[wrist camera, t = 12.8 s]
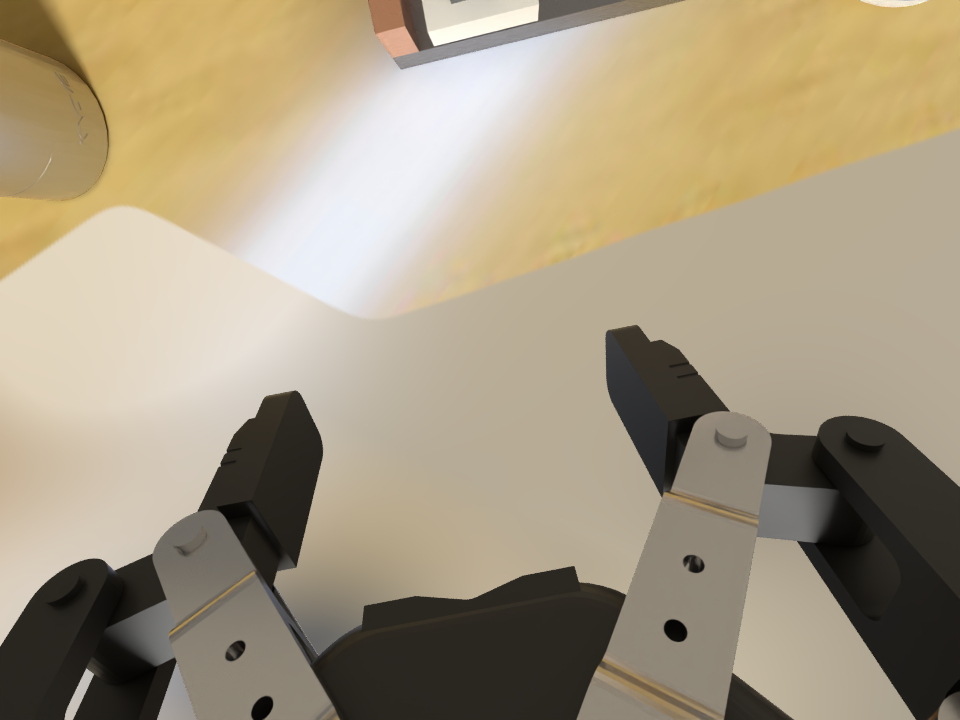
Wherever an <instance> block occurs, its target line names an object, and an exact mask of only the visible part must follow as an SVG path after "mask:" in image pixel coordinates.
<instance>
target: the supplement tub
mask: <svg viewBox="0 0 960 720" xmlns="http://www.w3.org/2000/svg"><path fill="white" fill-rule="evenodd" d="M860 1H862V2H865V3H868V4H872V5H877V6H884V7H904V6H912V5H916V4H920V3H923V2H926V1H928V0H860Z"/></svg>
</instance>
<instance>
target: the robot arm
mask: <svg viewBox="0 0 960 720" xmlns="http://www.w3.org/2000/svg"><path fill="white" fill-rule="evenodd" d="M107 149H108V140H107V129H106V125H105V121H104V117H103V114H102V111H101V109H100V107H99V104H98V102H97V100H96V98H95V97H94V95H93V94H92V92H91V90H90V89H89V87H88V86H87V85H86V84H85V83H84V81H83V80H82V79H81V78H80V77H79V76H78V75H77V74H76V73H75V72H73V71H72V70H71V69H69V68H68V67H67V66H65V65H64V64H62V63H60V62H58V61H56V60H54V59H52V58H50V57H47V56H45V55H42V54H39V53H37V52H34V51H32V50H29V49H26V48H24V47H21V46H18V45H16V44H13V43H10V42H8V41H5V40H2V39H0V197H13V198H27V199H41V200H59V201H63V200H68V199H72V198H75V197H77V196H79V195H81V194H83V193H85V192H86V191H87V190H88V189H90V188H91V187H92V186H93V185H94V184H95V182H96V181H97V179H98V178H99V176H100V175H101V173H102V170H103V167H104V165H105V162H106V157H107ZM606 379H607V387H608V392H609V395H610V398H611V401H612V403H613V405H614V407H615V409H616V410H617V413H618V415H619V416H620V418H621V420H622V422H623V424H624V426H625V428H626V430H627V432H628V434H629V435H630V437H631V439H632V441H633V443H634V445H635V447H636V449H637V451H638V453H639V455H640V457H641V458H642V460H643V462H644V464H645V466H646V468H647V470H648V472H649V474H650V476H651V478H652V480H653V481H654V483H655V485H656V487H657V489H658V491H659V493H660V495H661V497H662V499H661V502H660V505H659V507H658V510H657V513H656V516H655V519H654V521H653V524H652V527H651V530H650V532H649V535H648V538H647V540H646V543H645V546H644V549H643V552H642V554H641V557H640V560H639V563H638V565H637V568H636V571H635V574H634V576H633V579H632V582H631V585H630V587H629V590H628V593H627V595H625V594H623V593H621V592H619V591H616V590H614V589H611V588H607V587H604V586H600V585H595V584H590V583H580V582H579V581H578V577H577V574H576V570H575V567H574V566H572V567H566V568H562V569H556V570H551V571H546V572H540V573H535V574H530V575H524V576H521V577H519V578H517V579H515V580H513V581H510V582H508V583H506V584H504V585H502V586H499V587H497V588H495V589H493V590H491V591H489V592H487V593H484V594H482V595H480V596H478V597H476V598H473V599H469V600H462V599H448V598H434V597H420V596H414V597H409V598H404V599H399V600H393V601H388V602H382V603H377V604H372V605H367V606H364V613H363V622H362V625H360V626H358V627H356V628H354V629H353V630H351V631H349V632H348V633H346V634H344V635H343V636H342V637H340V638H339V639H338V640H336V641H335V642H334V643H333V644H332V645H330V646H329V647H328V648H327V649H326V650H325V651H324V652H322V653H321V655H320V656H319V655H318V654H317V652H316V651H315V649H314V648H313V646H312V645H311V643H310V642H309V640H308V638H307V637H306V635H305V633H304V632H303V630H302V629H301V627H300V625H299V624H298V622H297V621H296V619H295V617H294V616H293V614H292V612H291V611H290V609H289V607H288V606H287V604H286V603H285V601H284V599H283V598H282V596H281V595H280V593H279V591H278V590H277V588H276V587H275V586H274V580H275V576H276V573H277V571H281V570H285V569H291V568H296V567H297V562H298V558H299V554H300V549H301V546H302V541H303V537H304V533H305V529H306V524H307V520H308V516H309V512H310V508H311V504H312V499H313V495H314V490H315V487H316V482H317V478H318V474H319V470H320V466H321V461H322V457H323V445H322V440H321V436H320V434H319V431H318V429H317V427H316V425H315V423H314V421H313V419H312V417H311V415H310V413H309V411H308V409H307V406H306V404H305V402H304V400H303V398H302V396H301V395H300V393H299V392H298V391H290V392H285V393H280V394H275V395H269V396H266V397H265V398H264V399H263V401H262V404H261V406H260V408H259V410H258V413H257V415H256V417H255V418H252V419H249V420H248V421H247V422H246V423H245V424H244V425H243V426H242V427H241V428H240V429H239V430H238V431H237V432H236V433H235V434H234V436H233V438H232V440H231V442H230V444H229V446H228V449H227V453H226V454H225V455H224V457H223V459H222V461H221V467H219V468H218V469H217V472H216V474H215V476H214V478H213V480H212V482H211V484H210V486H209V488H208V491H207V493H206V495H205V497H204V499H203V501H202V503H201V505H200V507H199V509H198V512H196V513H193V514H191V515H189V516H187V517H185V518H184V519H182V520H180V521H179V522H177V523H176V524H174V525H173V526H172V527H171V528H170V529H169V530H168V531H167V532H165V534H164V535H163V536H162V537H161V538H160V540H159V541H158V543H157V545H156V547H155V549H154V552H153V554H151V555H148V556H146V557H144V558H142V559H139V560H137V561H135V562H133V563H130V564H128V565H126V566H124V567H121V568H119V569H117V570H115V571H114V570H113V569H112V568H111V567H110V566H109V565H108V564H107V563H106V562H105V561H103V560H101V559H87V560H83V561H80V562H78V563H75V564H73V565H71V566H69V567H67V568H65V569H64V570H62V571H60V572H59V573H57V574H56V575H55V576H54V577H52V578H51V579H49V580H48V581H47V582H46V583H45V584H44V585H43V586H42V587H41V588H40V589H39V590H38V591H37V592H36V593H35V595H34V596H33V597H32V599H31V600H30V601H29V603H28V604H27V606H26V608H25V609H24V611H23V612H22V614H21V615H20V617H19V619H18V620H17V622H16V623H15V625H14V626H13V628H12V629H11V631H10V632H9V634H8V635H7V637H6V639H5V640H4V642H3V643H2V645H1V646H0V720H64V718H65V713H66V710H67V707H68V705H69V703H70V701H71V699H72V696H73V694H74V692H75V690H76V688H77V686H78V684H79V682H80V680H81V678H82V676H83V674H84V672H85V670H86V668H87V669H88V670H89V671H91V672H92V673H94V676H93V678H92V680H91V682H90V685H89V687H88V689H87V691H86V693H85V695H84V698H83V700H82V702H81V704H80V706H79V708H78V710H77V712H76V715H75V717H74V719H73V720H157V717H158V715H159V712H160V709H161V706H162V703H163V700H164V697H165V694H166V691H167V688H168V685H169V682H170V679H171V677H172V674H173V671H174V668H175V665H176V662H177V664H178V667H179V669H180V672H181V675H182V678H183V681H184V684H185V687H186V690H187V693H188V695H189V698H190V701H191V704H192V707H193V710H194V713H195V716H196V719H197V720H794V719H792V718H791V717H790V716H788V715H787V714H786V713H784V712H783V711H782V710H780V709H779V708H778V707H777V706H775V705H774V704H773V703H771V702H770V701H769V700H767V699H766V698H765V697H763V696H762V695H761V694H760V693H758V692H757V691H756V690H754V689H753V688H752V687H750V686H749V685H748V684H746V683H745V682H744V681H743V680H741V679H740V678H739V677H737V676H736V675H735V674H733V673H732V670H733V665H734V659H735V654H736V648H737V642H738V636H739V631H740V626H741V620H742V614H743V609H744V603H745V598H746V592H747V586H748V580H749V575H750V570H751V564H752V558H753V553H754V547H755V541H756V537H765V538H774V539H784V540H793V541H797V542H798V543H799V545H800V546H801V548H802V549H803V551H804V552H805V554H806V555H807V556H808V558H809V560H810V561H811V563H812V564H813V566H814V567H815V569H816V570H817V572H818V573H819V575H820V576H821V578H822V579H823V581H824V582H825V584H826V585H827V587H828V588H829V590H830V591H831V593H832V594H833V596H834V597H835V599H836V600H837V602H838V603H839V605H840V606H841V608H842V609H843V611H844V612H845V614H846V615H847V617H848V618H849V620H850V621H851V623H852V624H853V626H854V627H855V629H856V630H857V632H858V633H859V635H860V636H861V638H862V639H863V641H864V642H865V644H866V645H867V647H868V648H869V650H870V651H871V653H872V654H873V656H874V657H875V659H876V660H877V662H878V663H879V665H880V666H881V668H882V669H883V671H884V672H885V674H886V675H887V677H888V678H889V680H890V681H891V683H892V684H893V686H894V687H895V689H896V690H897V692H898V693H899V695H900V696H901V697H902V699H903V701H904V702H905V704H906V705H907V706H908V708H909V710H910V711H911V713H912V714H913V716H914V717H915V719H916V720H960V487H959V486H958V485H957V484H956V483H955V482H953V481H952V480H951V479H950V478H949V477H948V476H947V475H946V474H945V473H944V472H942V471H941V470H940V469H939V468H938V467H937V466H936V465H935V464H934V463H932V462H931V461H930V460H929V459H928V458H927V457H926V456H925V455H924V454H923V453H921V452H920V451H919V450H918V449H917V448H916V447H915V446H914V445H913V444H912V443H910V442H909V441H908V440H907V439H906V438H905V437H904V436H903V435H901V434H900V433H899V432H897V431H896V430H895V429H893V428H891V427H889V426H887V425H885V424H883V423H880V422H878V421H875V420H872V419H868V418H864V417H857V416H839V417H834V418H831V419H829V420H827V421H826V422H824V423H823V424H822V425H821V426H820V428H819V431H818V434H817V436H804V435H783V434H773V433H769V432H768V431H767V429H766V428H765V427H764V426H763V425H762V424H761V423H759V422H758V421H756V420H755V419H752V418H751V417H749V416H746V415H743V414H739V413H735V412H730V411H729V410H728V408H727V407H726V406H725V405H724V404H723V402H722V401H721V400H720V399H719V397H718V396H717V395H716V394H715V393H714V391H713V390H712V389H711V388H710V387H709V385H708V384H707V383H706V382H705V381H704V379H703V378H702V377H701V376H700V375H698V372H697V371H696V370H695V369H694V367H693V366H692V365H690V364H689V361H688V360H687V359H686V358H685V357H684V355H683V354H682V353H681V352H680V350H679V349H677V348H675V347H674V346H672V345H670V344H668V343H666V342H664V341H663V340H658V341H653V342H650V341H649V339H648V338H647V337H646V335H645V334H644V333H643V331H642V330H641V329H640V327H639V326H637V325H633V326H628V327H623V328H618V329H612V330H608V331H607V332H606Z"/></svg>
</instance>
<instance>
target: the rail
mask: <svg viewBox="0 0 960 720" xmlns="http://www.w3.org/2000/svg"><path fill="white" fill-rule="evenodd" d="M680 1H684V0H539V11H538V21H534V22H530V23H526V24H522V25H518V26H514V27H510V28H506V29H502V30H498V31H494V32H490V33H486V34H482V35H478V36H474V37H470V38H466V39H462V40H458V41H454V42H450V43H446V44H441V45H437V46H434V45H433V43H432V40H431V38H430V36H429V34H428V31H427V26H426V21H425V15H424V10H423V4H422V0H368V2H369V7H370V11H371V16H372V21H373V26H374V31H375V34H376V36H377V37H378V38H379V40H380V41H381V43H382V44H383V45H384V47H385V48H386V49H387V51H388V52H389V54H390V55H391V56H392V58H393V59H394V60H395V62H396V63H397V64H398V66H399V67H400V69H404V68H409V67H413V66H417V65H421V64H425V63H429V62H433V61H437V60H441V59H446V58H450V57H454V56H458V55H462V54H466V53H470V52H474V51H478V50H483V49H487V48H491V47H495V46H499V45H503V44H507V43H511V42H515V41H520V40H524V39H528V38H532V37H536V36H540V35H544V34H548V33H552V32H557V31H561V30H565V29H569V28H573V27H577V26H581V25H585V24H589V23H594V22H598V21H602V20H606V19H610V18H614V17H618V16H622V15H626V14H631V13H635V12H639V11H643V10H647V9H651V8H655V7H659V6H663V5H668V4H672V3H676V2H680Z"/></svg>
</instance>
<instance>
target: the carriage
mask: <svg viewBox="0 0 960 720" xmlns="http://www.w3.org/2000/svg"><path fill="white" fill-rule="evenodd" d="M422 4H423V10H424V15H425V21H426V26H427V31H428V34H429V36H430V38H431V40H432V43H433V45H434V46H437V45H441V44H446V43H450V42H454V41H458V40H462V39H466V38H470V37H474V36H478V35H482V34H486V33H490V32H494V31H498V30H502V29H506V28H510V27H514V26H518V25H522V24H526V23H530V22H534V21H538V11H539V0H422Z"/></svg>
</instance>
